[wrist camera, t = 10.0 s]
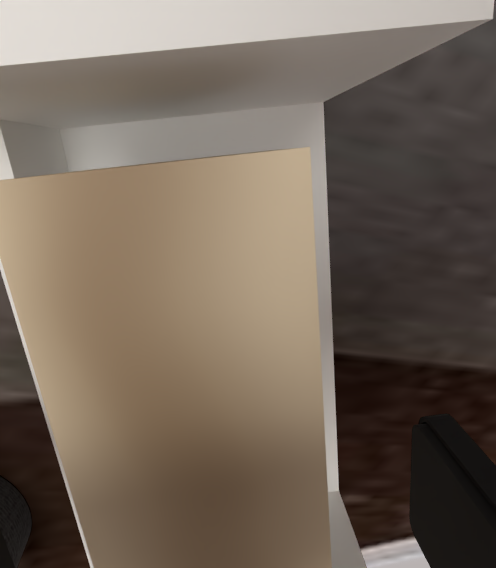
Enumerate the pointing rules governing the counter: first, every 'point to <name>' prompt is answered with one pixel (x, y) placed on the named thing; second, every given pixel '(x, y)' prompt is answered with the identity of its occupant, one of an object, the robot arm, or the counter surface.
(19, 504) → the coffee cup
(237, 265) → the oak board
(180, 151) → the peg frame
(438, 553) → the robot arm
